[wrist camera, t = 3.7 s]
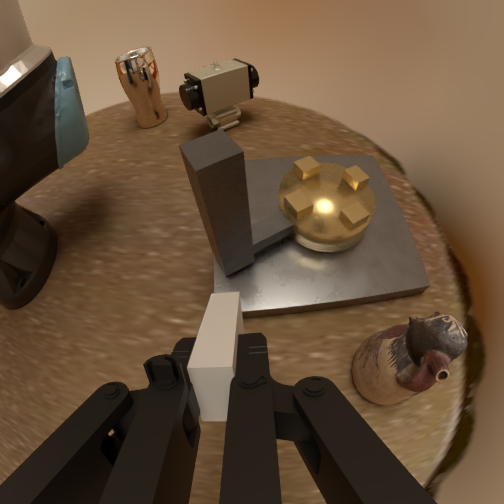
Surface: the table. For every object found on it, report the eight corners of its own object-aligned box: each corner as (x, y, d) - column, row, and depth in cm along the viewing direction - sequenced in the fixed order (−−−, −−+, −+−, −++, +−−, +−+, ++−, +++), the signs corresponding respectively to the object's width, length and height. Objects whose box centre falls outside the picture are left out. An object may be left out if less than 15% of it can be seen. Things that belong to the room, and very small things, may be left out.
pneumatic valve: (261, 119, 44) (258, 56, 33) (200, 144, 41) (185, 77, 30) (244, 107, 46) (239, 49, 36) (186, 130, 43) (171, 69, 33)
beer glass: (142, 114, 49) (122, 52, 36) (173, 108, 48) (157, 43, 35) (131, 132, 45) (106, 65, 32) (165, 126, 45) (144, 54, 32)
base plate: (218, 320, 26) (214, 312, 24) (217, 174, 37) (214, 162, 35) (421, 293, 26) (431, 284, 24) (370, 165, 36) (373, 154, 35)
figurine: (425, 357, 22) (502, 318, 12) (391, 417, 20) (469, 415, 10) (374, 321, 25) (432, 263, 15) (335, 380, 23) (386, 359, 12)
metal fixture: (244, 308, 24) (222, 212, 13) (199, 229, 29) (164, 124, 18) (384, 226, 28) (429, 128, 17) (330, 170, 33) (345, 74, 21)
